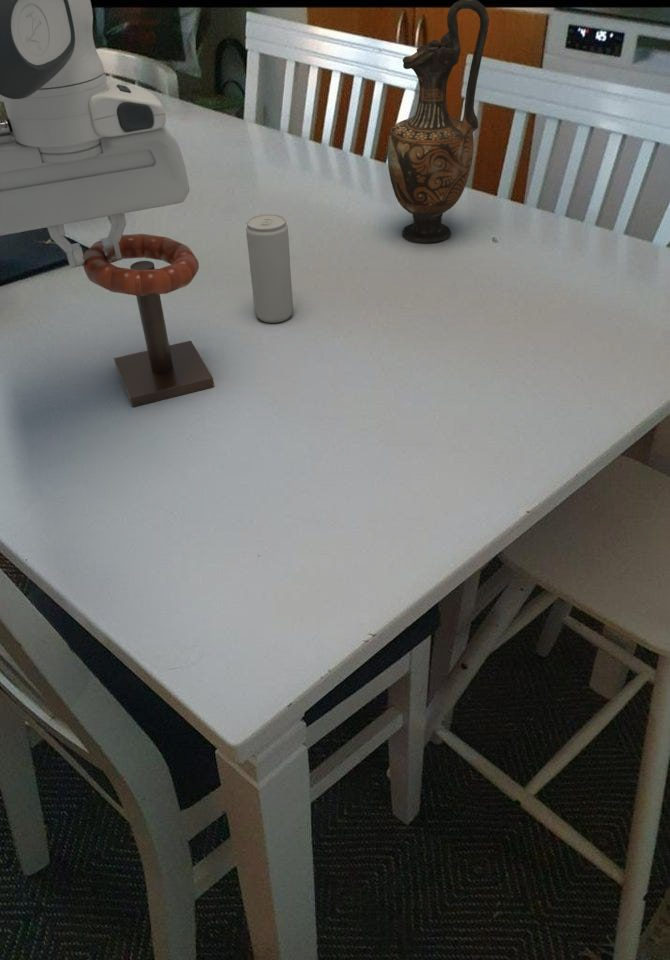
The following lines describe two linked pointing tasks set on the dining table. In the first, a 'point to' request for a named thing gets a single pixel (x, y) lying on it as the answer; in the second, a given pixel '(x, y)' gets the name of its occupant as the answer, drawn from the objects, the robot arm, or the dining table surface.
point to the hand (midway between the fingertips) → (95, 261)
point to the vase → (435, 134)
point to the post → (160, 358)
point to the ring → (142, 280)
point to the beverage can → (270, 267)
